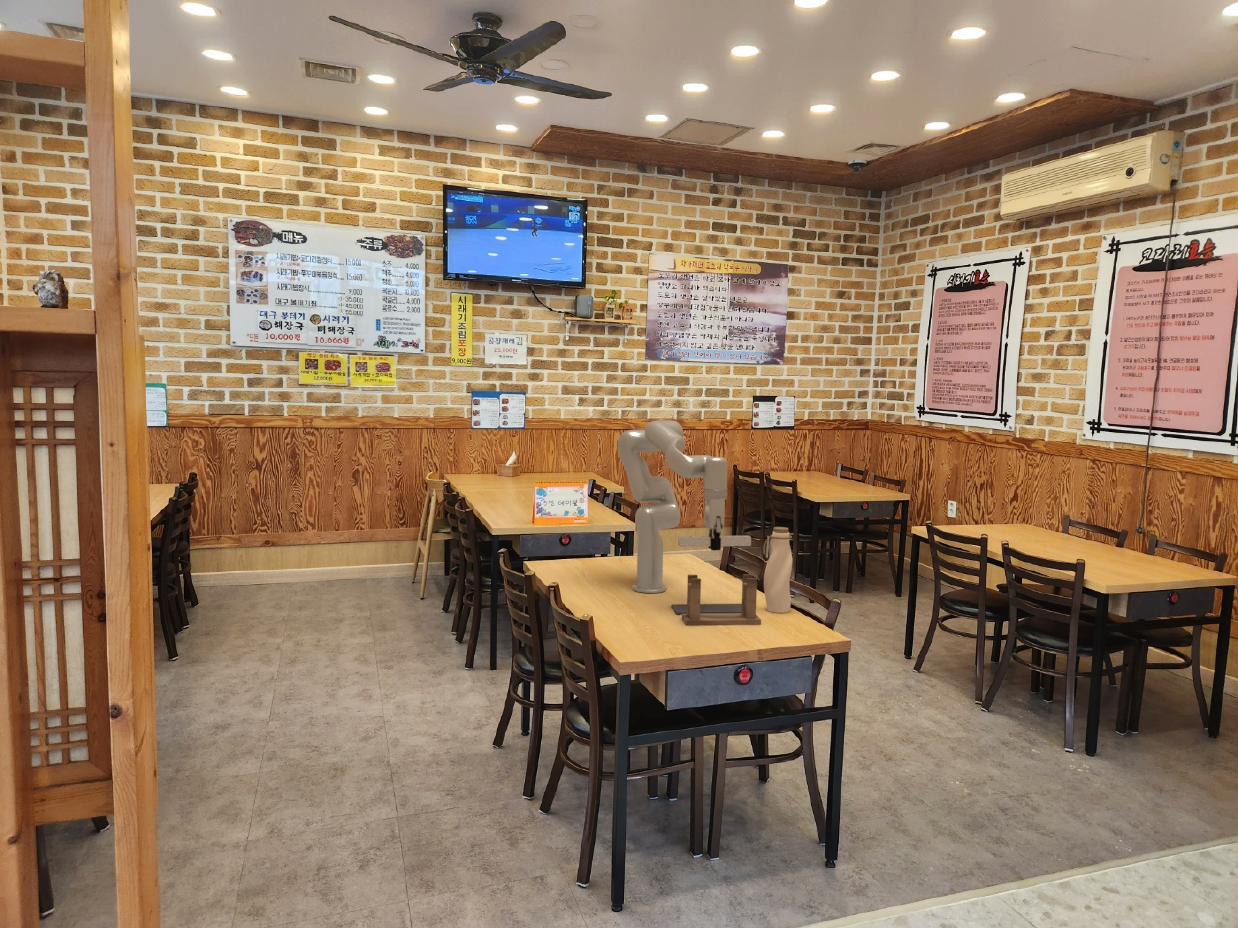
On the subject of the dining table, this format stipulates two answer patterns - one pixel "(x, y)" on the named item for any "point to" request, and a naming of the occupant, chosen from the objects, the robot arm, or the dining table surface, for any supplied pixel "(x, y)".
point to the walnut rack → (742, 618)
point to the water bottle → (778, 571)
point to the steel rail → (706, 541)
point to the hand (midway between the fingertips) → (714, 548)
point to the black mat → (709, 608)
